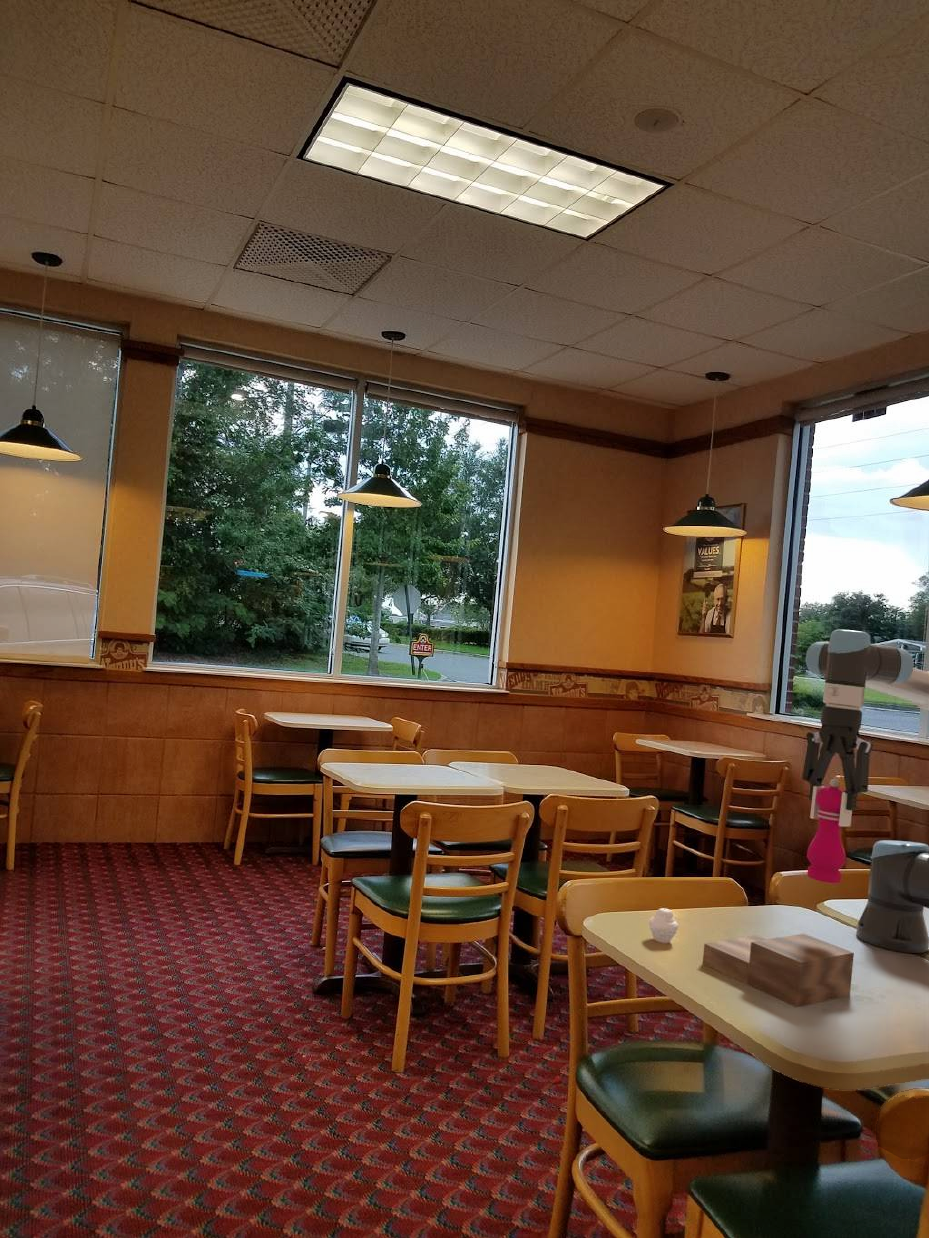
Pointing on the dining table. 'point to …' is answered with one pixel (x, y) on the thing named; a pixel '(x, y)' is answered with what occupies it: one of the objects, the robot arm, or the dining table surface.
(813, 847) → the pepper mill
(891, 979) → the dining table surface
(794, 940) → the step stand
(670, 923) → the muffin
